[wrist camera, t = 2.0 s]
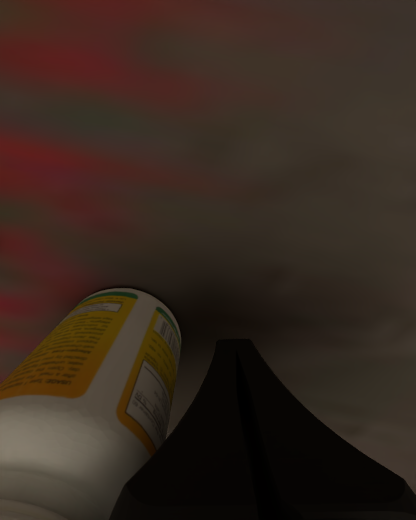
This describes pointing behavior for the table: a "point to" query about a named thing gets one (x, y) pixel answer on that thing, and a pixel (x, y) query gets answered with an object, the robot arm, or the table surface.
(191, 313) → the table surface
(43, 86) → the table surface
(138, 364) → the supplement bottle
